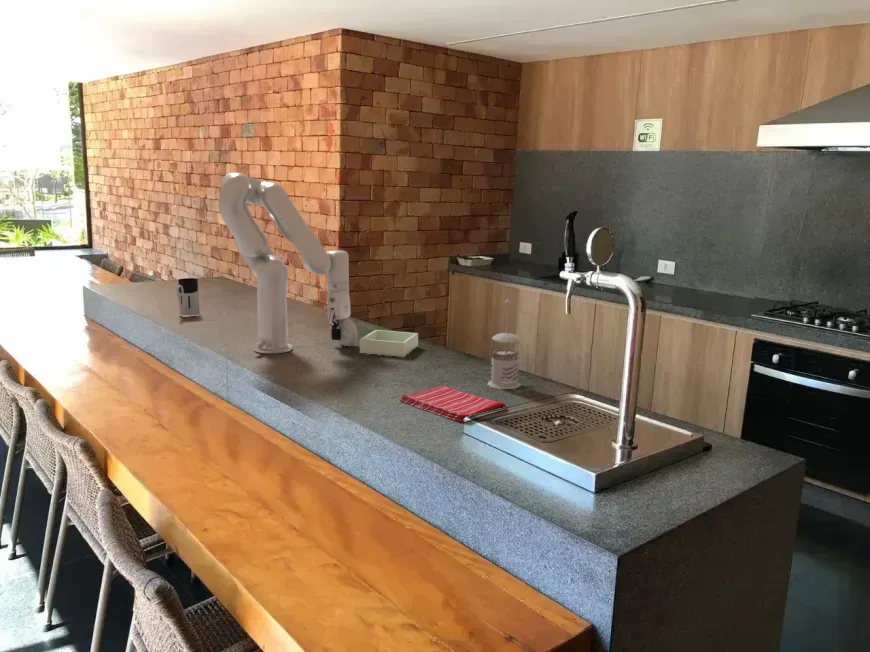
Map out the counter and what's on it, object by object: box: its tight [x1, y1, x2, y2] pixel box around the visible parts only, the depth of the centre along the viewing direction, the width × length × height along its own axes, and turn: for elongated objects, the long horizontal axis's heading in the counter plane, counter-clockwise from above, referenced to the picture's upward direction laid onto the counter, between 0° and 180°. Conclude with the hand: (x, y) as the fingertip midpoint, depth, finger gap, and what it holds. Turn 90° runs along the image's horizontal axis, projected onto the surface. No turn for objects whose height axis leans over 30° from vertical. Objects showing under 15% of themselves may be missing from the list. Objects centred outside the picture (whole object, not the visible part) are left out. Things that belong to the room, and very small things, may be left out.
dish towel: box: [399, 385, 507, 424], centre depth 185 cm, size 17×24×3 cm
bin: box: [359, 329, 419, 358], centre depth 242 cm, size 16×16×5 cm
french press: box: [487, 299, 524, 390], centre depth 203 cm, size 10×12×25 cm
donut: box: [338, 318, 358, 348], centre depth 245 cm, size 10×4×10 cm, turn 43°
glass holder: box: [176, 277, 201, 315], centre depth 290 cm, size 9×14×15 cm, turn 174°
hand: (338, 337), depth 248 cm, fingers closed on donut, 4 cm apart
